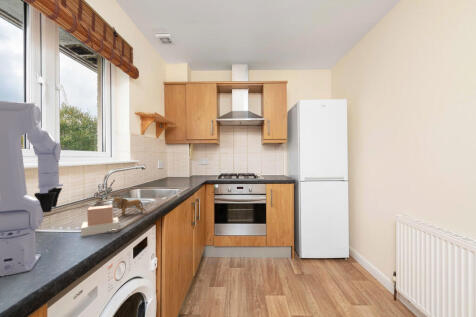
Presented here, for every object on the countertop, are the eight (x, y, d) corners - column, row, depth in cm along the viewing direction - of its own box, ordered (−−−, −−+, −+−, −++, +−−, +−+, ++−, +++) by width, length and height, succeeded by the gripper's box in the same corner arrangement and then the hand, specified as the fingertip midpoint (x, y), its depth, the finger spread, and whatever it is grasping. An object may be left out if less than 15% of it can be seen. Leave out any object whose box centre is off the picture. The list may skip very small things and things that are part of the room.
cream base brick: (118, 231, 83) (118, 222, 83) (81, 237, 77) (80, 228, 77) (117, 225, 90) (117, 217, 90) (83, 230, 84) (83, 222, 84)
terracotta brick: (112, 222, 83) (112, 207, 83) (87, 225, 80) (87, 209, 79) (113, 219, 87) (112, 204, 87) (89, 222, 84) (89, 207, 83)
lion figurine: (113, 217, 100) (113, 198, 100) (113, 214, 105) (112, 196, 104) (146, 212, 108) (146, 194, 108) (145, 210, 112) (144, 193, 112)
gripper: (58, 174, 74) (59, 212, 74) (66, 171, 86) (67, 204, 87) (30, 175, 70) (32, 215, 71) (43, 171, 83) (44, 206, 83)
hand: (49, 209), depth 79 cm, fingers open, 7 cm apart
